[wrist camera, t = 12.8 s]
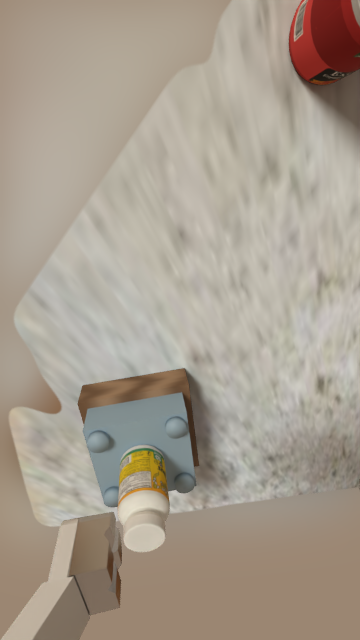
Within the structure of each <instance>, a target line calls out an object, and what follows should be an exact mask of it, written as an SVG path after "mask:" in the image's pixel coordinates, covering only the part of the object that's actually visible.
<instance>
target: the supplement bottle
mask: <svg viewBox="0 0 360 640" xmlns="http://www.w3.org/2000/svg"><path fill="white" fill-rule="evenodd" d="M169 510H170V504H169V496H168V488H167V479H166V470H165V461H164V457H163V454H162V453H161V452H160V451H159V450H158V449H157V448H155V447H153V446H150V445H137V446H134V447H132V448H130V449H129V450H127V451H126V452H125V453H124V454H123V456H122V458H121V461H120V474H119V495H118V518H119V520H120V522H121V523H122V525H123V526H124V529H123V531H124V544H125V545H126V547H127V548H129V549H130V550H132V551H135V552H148V551H152V550H154V549H156V548H158V547H160V546H161V545H162V543H163V542H164V540H165V537H166V533H165V521H166V519H167V517H168V515H169Z"/></svg>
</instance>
